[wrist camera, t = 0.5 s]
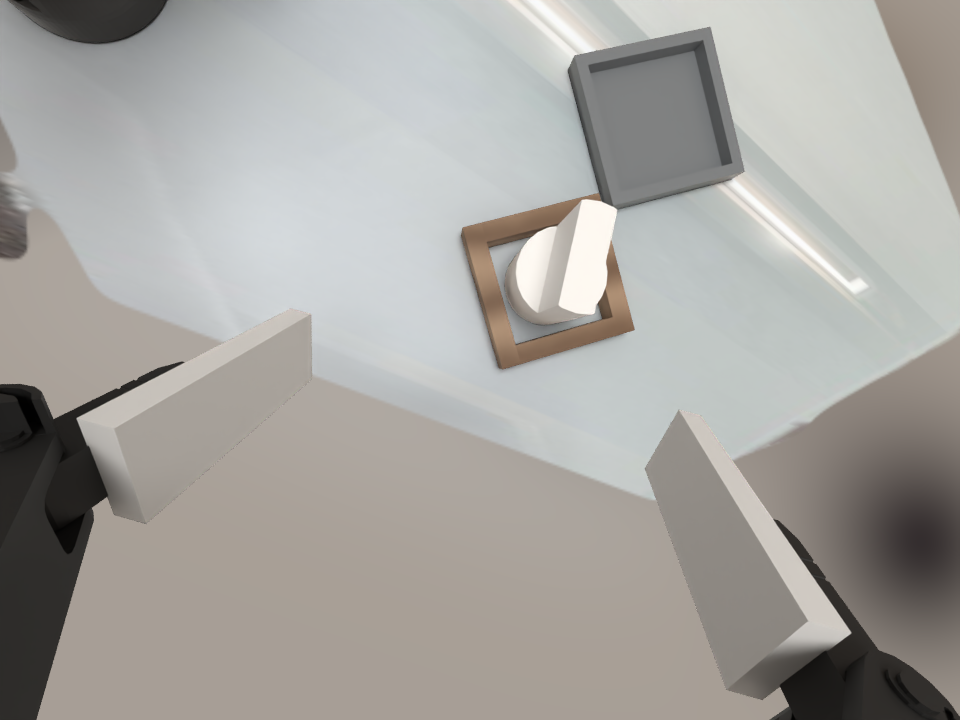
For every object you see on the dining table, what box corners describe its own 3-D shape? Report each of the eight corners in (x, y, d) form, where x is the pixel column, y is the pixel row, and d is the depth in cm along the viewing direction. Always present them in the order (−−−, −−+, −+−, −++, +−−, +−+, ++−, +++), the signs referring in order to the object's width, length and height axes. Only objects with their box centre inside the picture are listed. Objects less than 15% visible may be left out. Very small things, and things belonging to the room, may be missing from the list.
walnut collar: (461, 235, 39) (462, 227, 37) (589, 202, 41) (598, 193, 38) (498, 368, 40) (502, 369, 37) (622, 331, 41) (634, 330, 39)
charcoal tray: (567, 70, 40) (574, 55, 38) (697, 42, 41) (710, 26, 39) (604, 212, 41) (613, 205, 39) (730, 179, 42) (744, 171, 40)
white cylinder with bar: (514, 235, 40) (546, 185, 28) (590, 255, 41) (652, 216, 29) (496, 314, 40) (520, 299, 28) (573, 333, 41) (628, 326, 29)
